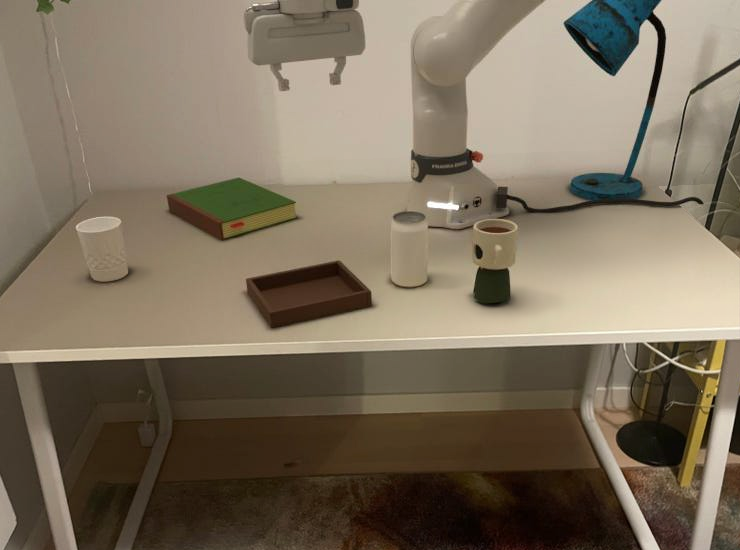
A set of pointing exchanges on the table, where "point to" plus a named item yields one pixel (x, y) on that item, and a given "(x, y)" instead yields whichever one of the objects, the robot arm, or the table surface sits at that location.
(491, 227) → the character mug
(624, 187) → the desk lamp
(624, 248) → the table surface
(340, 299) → the tray
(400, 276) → the can
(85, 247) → the white cup
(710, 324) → the table surface
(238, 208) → the hardcover book
